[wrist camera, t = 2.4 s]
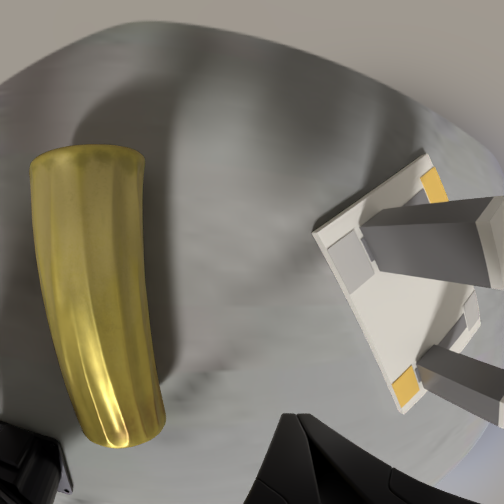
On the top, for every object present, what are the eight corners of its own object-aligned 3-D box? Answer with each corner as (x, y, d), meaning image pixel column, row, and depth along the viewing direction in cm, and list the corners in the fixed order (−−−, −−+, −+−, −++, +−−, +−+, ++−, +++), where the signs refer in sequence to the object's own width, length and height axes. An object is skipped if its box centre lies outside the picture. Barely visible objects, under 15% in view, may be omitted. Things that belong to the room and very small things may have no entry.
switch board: (398, 411, 22) (404, 415, 21) (311, 232, 19) (317, 232, 18) (475, 323, 25) (481, 324, 24) (421, 155, 22) (428, 153, 21)
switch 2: (423, 388, 22) (505, 429, 12) (415, 363, 21) (508, 405, 11) (440, 369, 22) (522, 404, 12) (433, 344, 21) (525, 376, 12)
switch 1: (379, 271, 19) (504, 290, 10) (358, 227, 19) (489, 221, 9) (401, 251, 20) (520, 259, 10) (382, 209, 19) (506, 195, 10)
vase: (13, 151, 9) (71, 458, 10) (151, 138, 11) (185, 444, 12) (45, 177, 14) (79, 400, 15) (141, 169, 17) (164, 390, 18)
